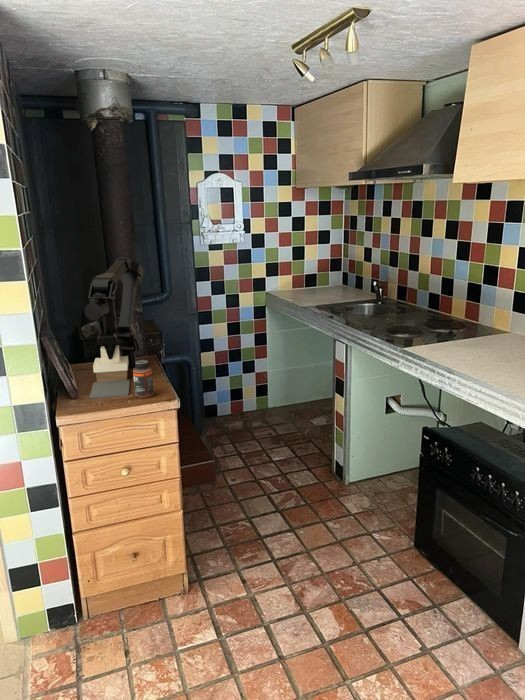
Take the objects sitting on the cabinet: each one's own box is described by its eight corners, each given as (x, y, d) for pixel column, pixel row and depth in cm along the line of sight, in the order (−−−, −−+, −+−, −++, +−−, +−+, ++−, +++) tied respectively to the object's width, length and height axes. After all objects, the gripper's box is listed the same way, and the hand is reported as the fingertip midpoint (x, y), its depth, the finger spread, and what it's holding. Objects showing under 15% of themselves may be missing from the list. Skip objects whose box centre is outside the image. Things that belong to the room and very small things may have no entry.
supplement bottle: (155, 391, 176) (152, 358, 173) (152, 398, 170) (149, 364, 167) (136, 392, 176) (134, 359, 173) (133, 399, 170) (130, 364, 167)
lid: (96, 364, 192) (94, 344, 190) (128, 362, 194) (126, 342, 192) (93, 372, 183) (91, 351, 181) (127, 370, 186) (125, 349, 183)
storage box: (98, 375, 193) (97, 362, 191) (127, 373, 195) (126, 360, 193) (96, 382, 185) (95, 369, 184) (126, 380, 187) (125, 366, 186)
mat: (93, 384, 184) (93, 382, 184) (129, 381, 186) (129, 379, 186) (89, 398, 171) (89, 396, 171) (128, 395, 173) (128, 393, 173)
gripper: (84, 309, 191) (89, 352, 195) (78, 321, 173) (83, 367, 177) (117, 308, 193) (121, 350, 197) (114, 319, 175) (118, 365, 180)
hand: (110, 357), depth 188 cm, fingers closed on lid, 3 cm apart
